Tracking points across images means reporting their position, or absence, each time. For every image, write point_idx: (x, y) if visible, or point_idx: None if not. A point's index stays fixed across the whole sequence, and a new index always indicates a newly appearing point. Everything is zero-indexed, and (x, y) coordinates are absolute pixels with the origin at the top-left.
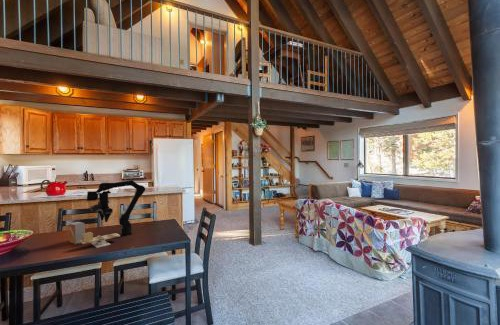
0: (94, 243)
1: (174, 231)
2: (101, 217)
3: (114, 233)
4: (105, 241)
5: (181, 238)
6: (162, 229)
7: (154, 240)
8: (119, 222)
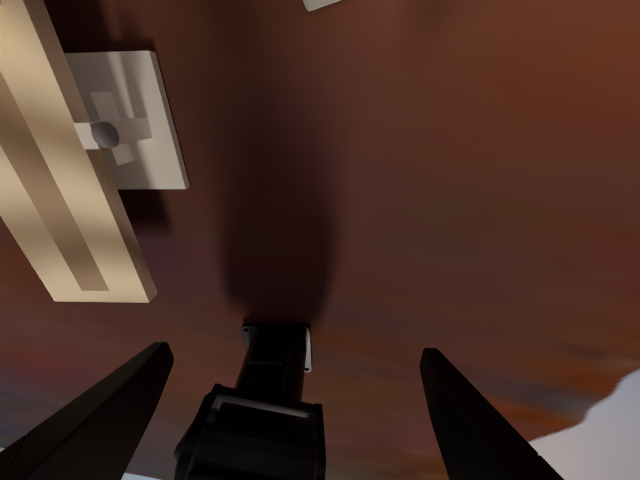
0: (106, 74)
1: (166, 469)
2: (451, 413)
3: (141, 287)
4: None
5: None
6: None
7: (35, 383)
8: (204, 428)
